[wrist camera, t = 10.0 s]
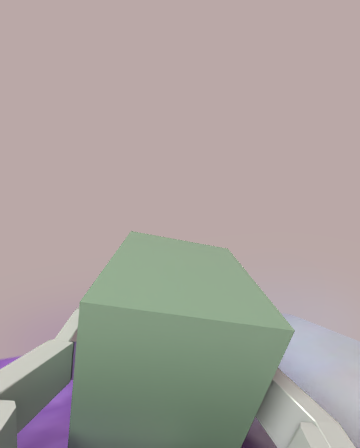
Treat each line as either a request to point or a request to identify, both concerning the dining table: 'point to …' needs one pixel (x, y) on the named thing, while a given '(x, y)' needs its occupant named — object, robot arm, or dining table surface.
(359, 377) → the dining table surface
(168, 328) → the sage green brick
